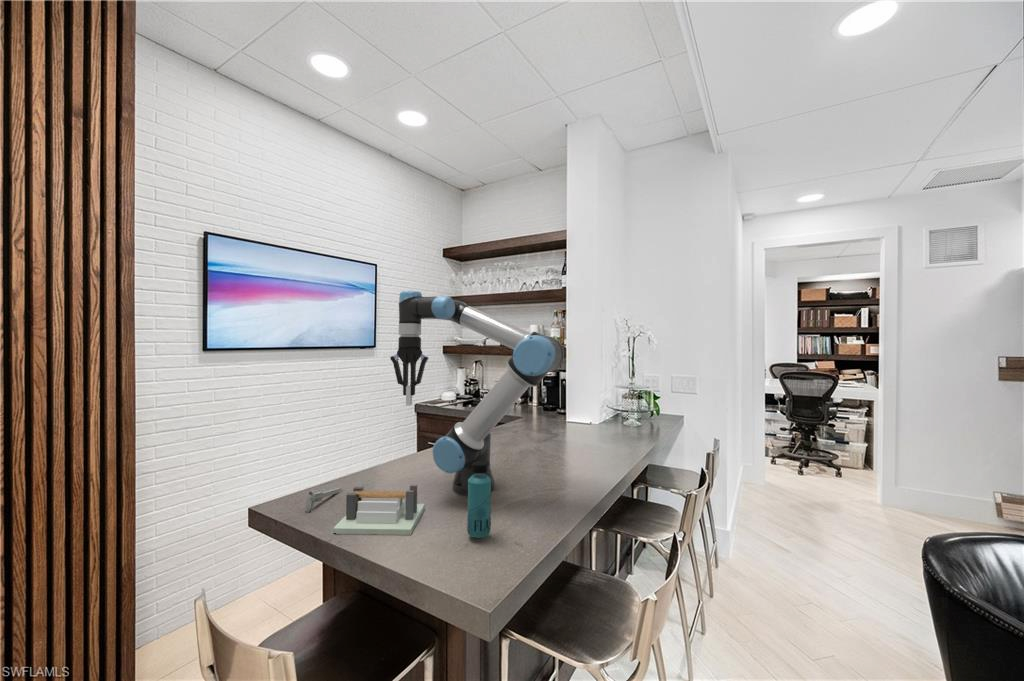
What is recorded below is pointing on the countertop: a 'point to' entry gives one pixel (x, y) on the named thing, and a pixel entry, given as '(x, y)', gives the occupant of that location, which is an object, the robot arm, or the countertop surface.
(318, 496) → the caliper
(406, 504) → the processor board
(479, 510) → the beverage bottle
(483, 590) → the countertop surface
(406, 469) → the countertop surface
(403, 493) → the bar
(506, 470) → the countertop surface
